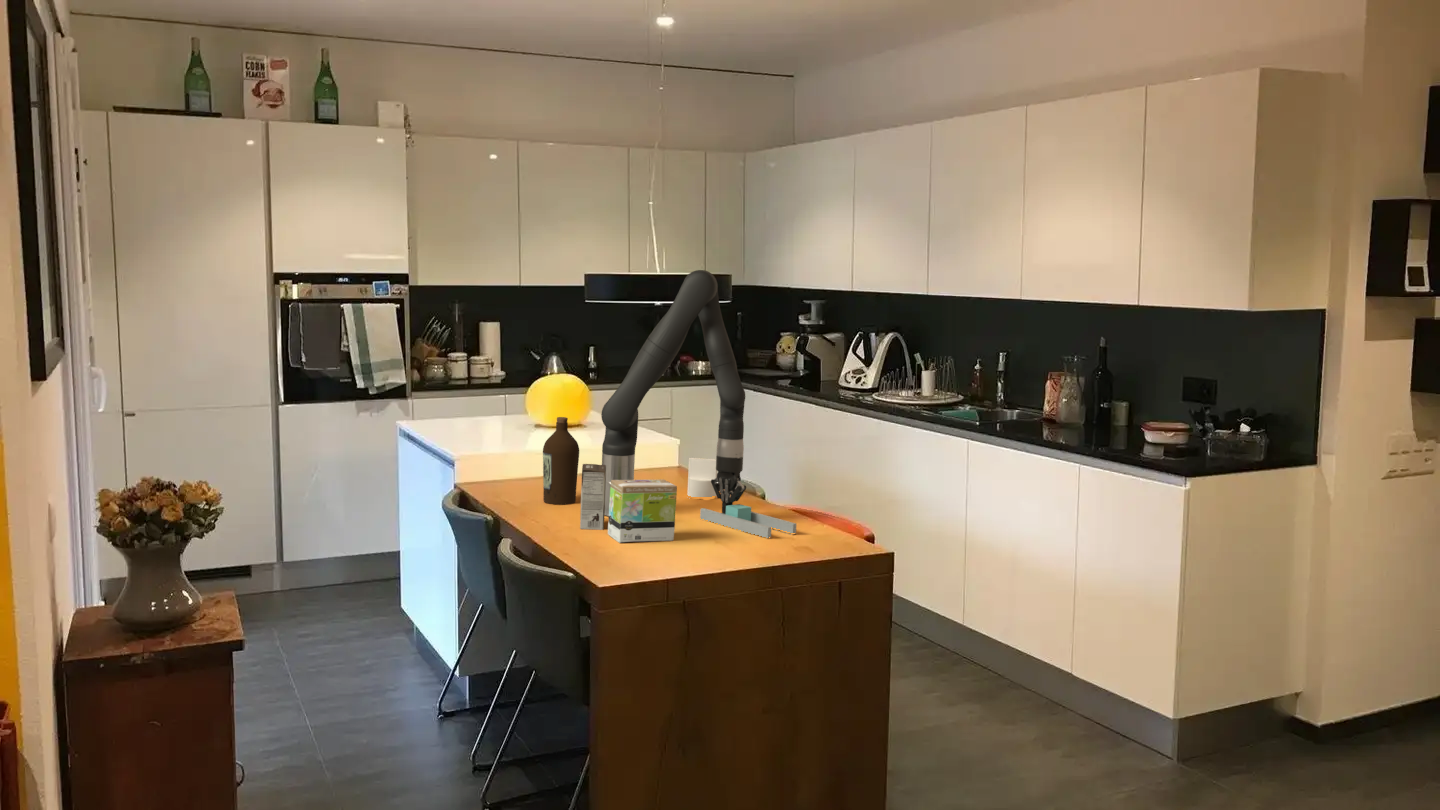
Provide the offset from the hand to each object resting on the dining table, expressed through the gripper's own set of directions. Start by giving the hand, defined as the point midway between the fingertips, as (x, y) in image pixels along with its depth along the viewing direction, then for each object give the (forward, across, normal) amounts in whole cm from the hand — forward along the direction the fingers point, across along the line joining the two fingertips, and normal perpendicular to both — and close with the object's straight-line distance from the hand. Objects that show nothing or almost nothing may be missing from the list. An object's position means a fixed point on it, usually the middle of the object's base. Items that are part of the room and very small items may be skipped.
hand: (726, 515), depth 322 cm
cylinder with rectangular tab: (+2, -30, +16) cm, 34 cm away
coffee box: (+2, -12, -37) cm, 39 cm away
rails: (+2, +9, 0) cm, 9 cm away
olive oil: (+2, -44, -27) cm, 52 cm away
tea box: (+2, +6, -34) cm, 35 cm away
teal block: (+2, +5, 0) cm, 5 cm away
